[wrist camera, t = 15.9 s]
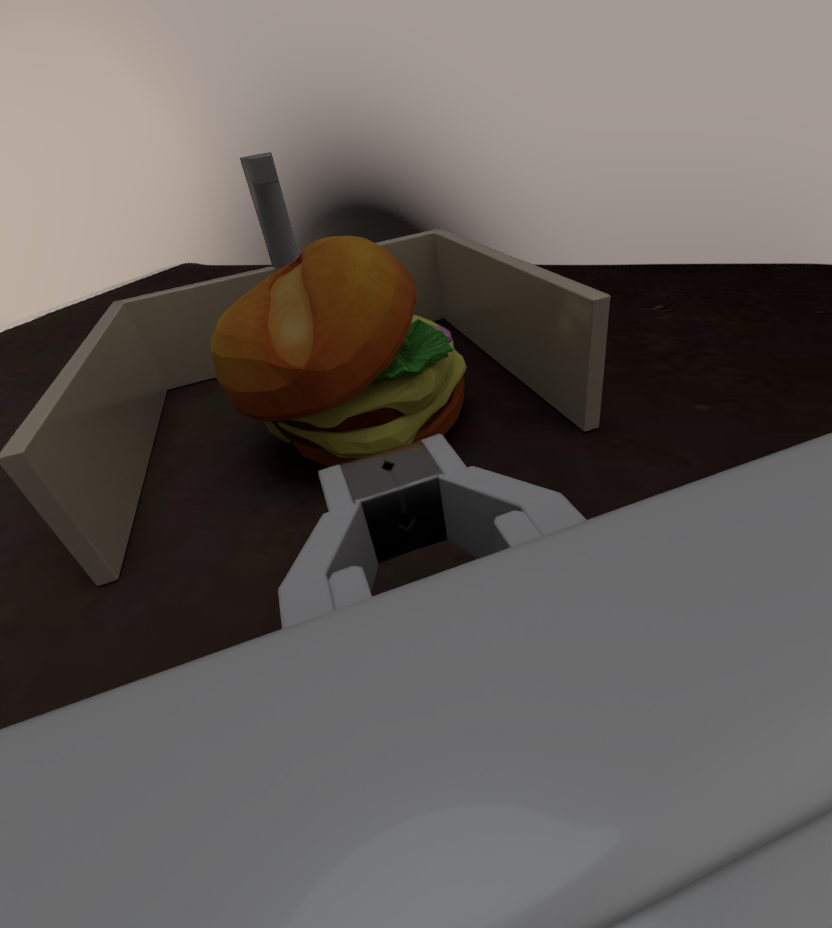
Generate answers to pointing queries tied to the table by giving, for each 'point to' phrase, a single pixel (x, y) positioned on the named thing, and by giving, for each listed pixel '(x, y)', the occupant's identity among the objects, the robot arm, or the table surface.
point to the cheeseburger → (339, 355)
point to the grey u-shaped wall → (190, 361)
